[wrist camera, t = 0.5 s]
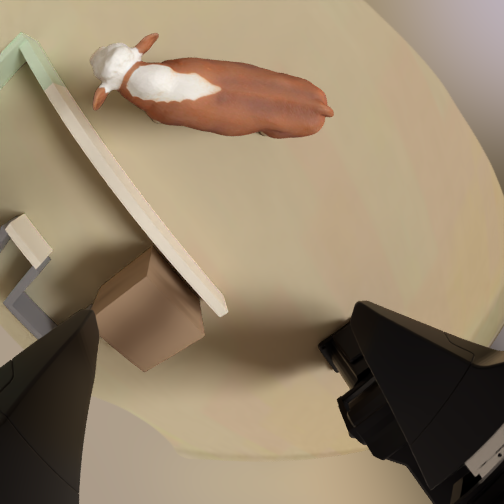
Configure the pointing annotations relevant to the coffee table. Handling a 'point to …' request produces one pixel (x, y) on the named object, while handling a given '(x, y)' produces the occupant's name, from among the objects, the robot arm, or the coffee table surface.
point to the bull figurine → (210, 93)
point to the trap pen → (28, 236)
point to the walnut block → (148, 311)
